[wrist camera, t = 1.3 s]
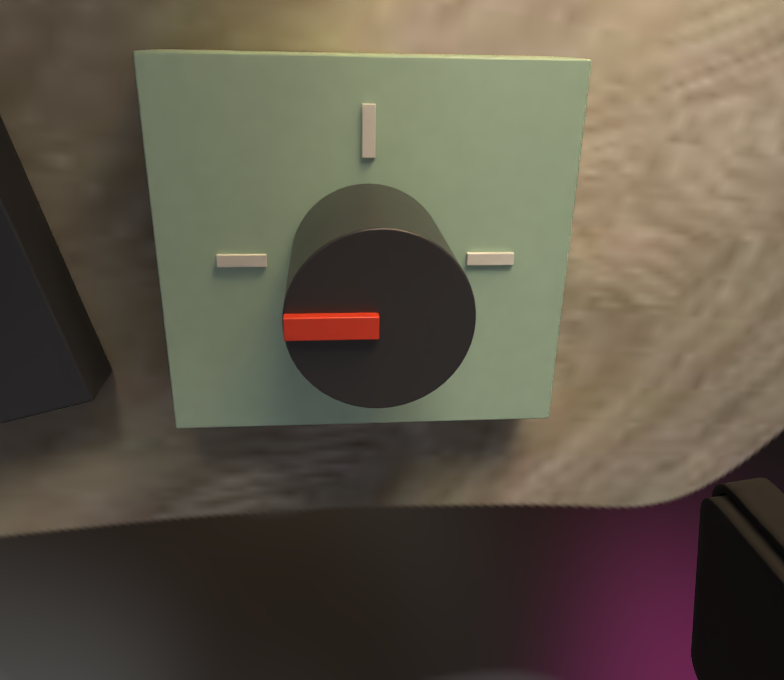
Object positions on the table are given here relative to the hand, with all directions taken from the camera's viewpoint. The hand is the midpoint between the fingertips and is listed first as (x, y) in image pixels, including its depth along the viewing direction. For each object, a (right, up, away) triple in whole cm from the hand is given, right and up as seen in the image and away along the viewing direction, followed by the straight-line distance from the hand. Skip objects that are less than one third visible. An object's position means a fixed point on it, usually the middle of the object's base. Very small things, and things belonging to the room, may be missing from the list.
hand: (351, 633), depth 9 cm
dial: (0, +6, +12) cm, 13 cm away
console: (0, +7, +14) cm, 16 cm away
